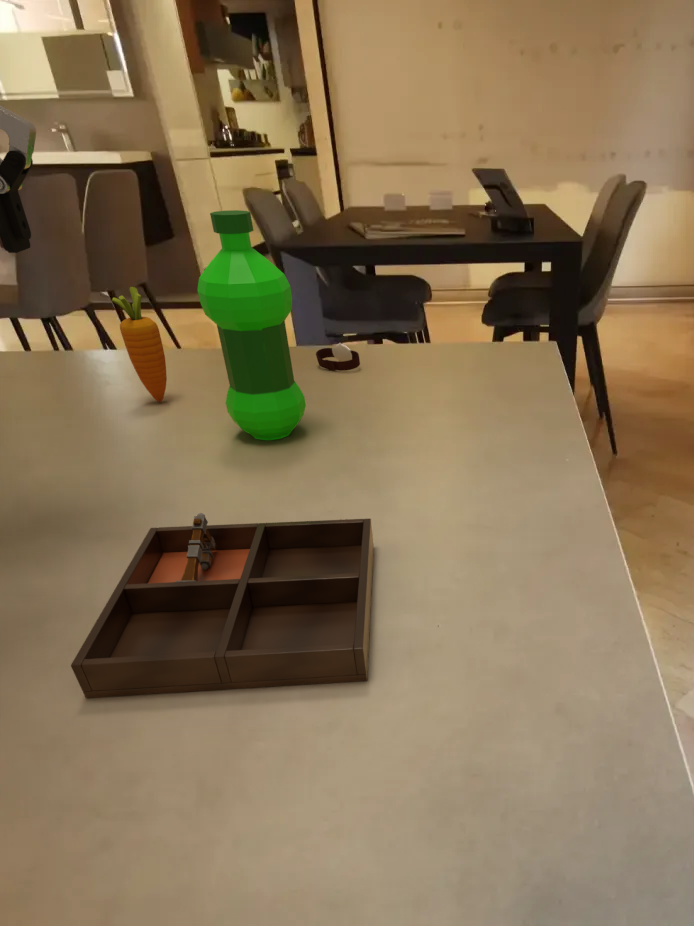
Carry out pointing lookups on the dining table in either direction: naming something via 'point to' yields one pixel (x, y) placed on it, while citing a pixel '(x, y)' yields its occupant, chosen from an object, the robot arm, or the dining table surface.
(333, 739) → the dining table surface
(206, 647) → the grid
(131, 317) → the carrot
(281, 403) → the plastic bottle
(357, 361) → the watch
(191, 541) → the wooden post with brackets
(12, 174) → the robot arm
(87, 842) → the dining table surface
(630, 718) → the dining table surface
